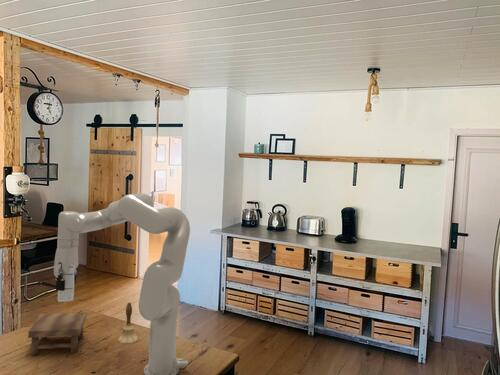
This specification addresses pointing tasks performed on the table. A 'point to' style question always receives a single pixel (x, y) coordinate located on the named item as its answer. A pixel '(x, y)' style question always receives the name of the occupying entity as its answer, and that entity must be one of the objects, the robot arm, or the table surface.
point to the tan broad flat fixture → (57, 330)
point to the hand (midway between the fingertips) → (66, 286)
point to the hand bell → (128, 329)
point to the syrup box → (67, 286)
